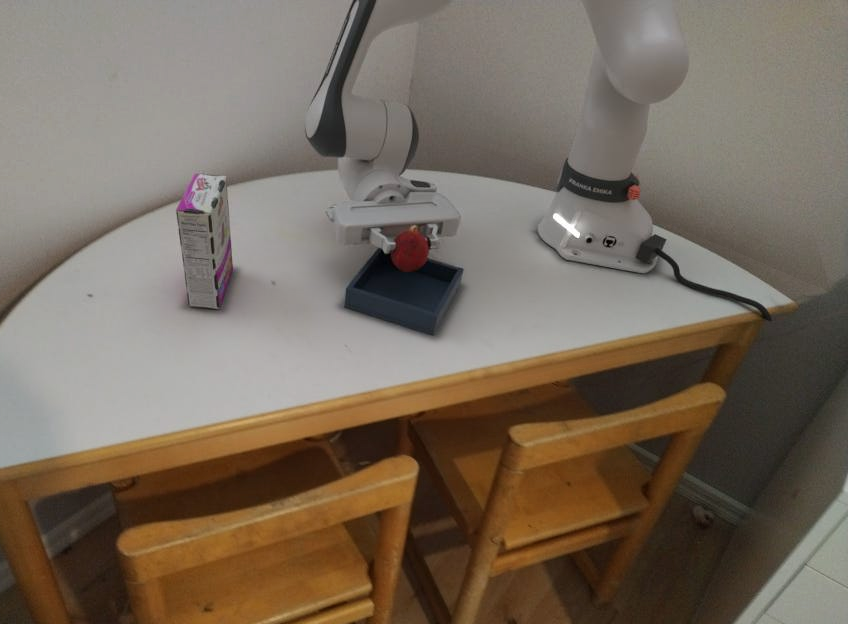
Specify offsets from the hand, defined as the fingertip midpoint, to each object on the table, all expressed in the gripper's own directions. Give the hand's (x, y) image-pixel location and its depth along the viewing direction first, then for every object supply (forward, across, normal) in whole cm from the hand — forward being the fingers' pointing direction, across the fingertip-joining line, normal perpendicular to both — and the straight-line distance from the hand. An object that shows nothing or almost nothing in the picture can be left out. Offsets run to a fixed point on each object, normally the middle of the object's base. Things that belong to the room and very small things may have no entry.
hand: (413, 247), depth 96 cm
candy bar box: (-8, -29, +10) cm, 32 cm away
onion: (-1, 0, +5) cm, 5 cm away
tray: (-1, 0, +10) cm, 10 cm away
